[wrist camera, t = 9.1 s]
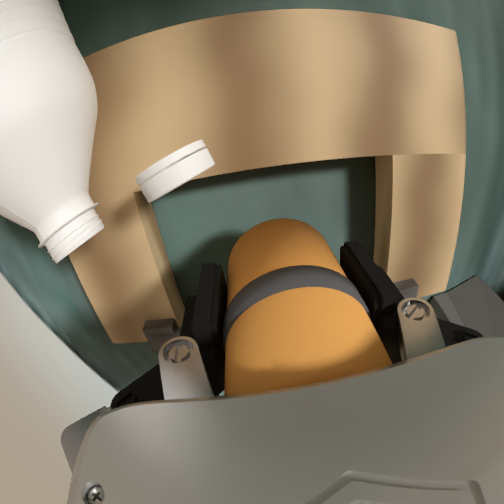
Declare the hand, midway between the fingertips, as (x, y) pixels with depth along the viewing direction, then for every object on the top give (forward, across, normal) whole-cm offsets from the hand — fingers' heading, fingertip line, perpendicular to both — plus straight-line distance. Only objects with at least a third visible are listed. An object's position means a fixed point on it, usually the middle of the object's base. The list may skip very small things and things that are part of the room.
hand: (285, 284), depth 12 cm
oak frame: (+4, 0, -4) cm, 5 cm away
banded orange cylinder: (+1, 0, 0) cm, 1 cm away
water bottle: (+1, +14, -28) cm, 31 cm away
